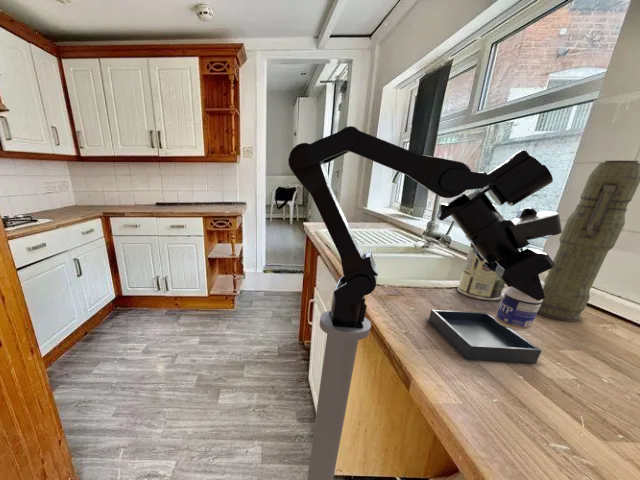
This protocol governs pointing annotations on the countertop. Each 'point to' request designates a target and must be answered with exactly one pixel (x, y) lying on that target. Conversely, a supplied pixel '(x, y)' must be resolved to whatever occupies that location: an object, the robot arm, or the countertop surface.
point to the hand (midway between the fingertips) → (534, 293)
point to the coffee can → (479, 279)
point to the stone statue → (589, 238)
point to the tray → (483, 337)
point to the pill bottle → (517, 310)
